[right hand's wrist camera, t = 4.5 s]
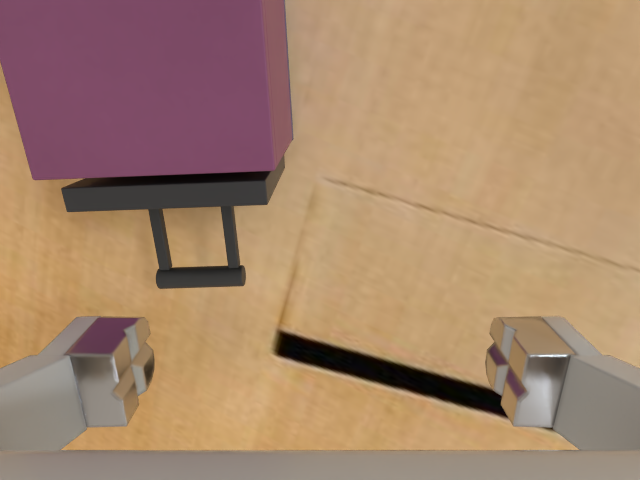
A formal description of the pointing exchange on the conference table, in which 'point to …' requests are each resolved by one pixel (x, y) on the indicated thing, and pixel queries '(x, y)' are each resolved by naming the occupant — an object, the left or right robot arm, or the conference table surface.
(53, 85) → the cabinet
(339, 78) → the conference table surface
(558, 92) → the conference table surface
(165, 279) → the drawer
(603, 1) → the conference table surface
